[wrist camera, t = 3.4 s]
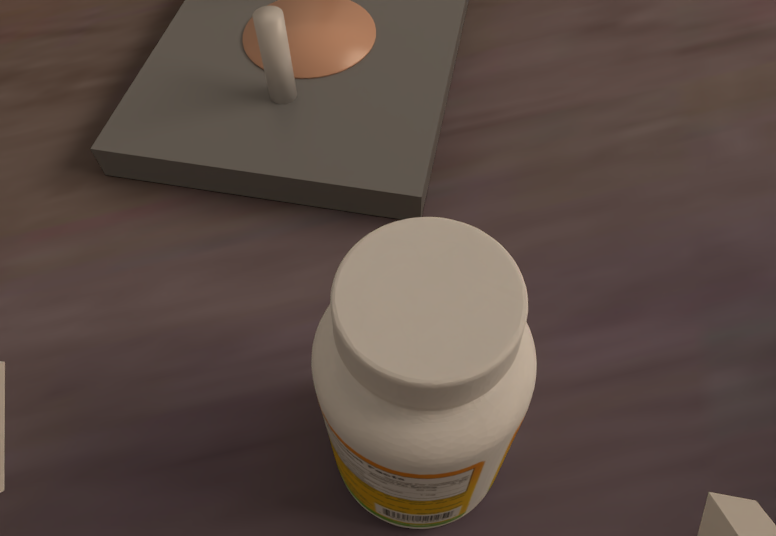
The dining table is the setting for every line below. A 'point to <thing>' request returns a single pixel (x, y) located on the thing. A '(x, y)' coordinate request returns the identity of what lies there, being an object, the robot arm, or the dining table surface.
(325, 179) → the pin tray
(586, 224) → the dining table surface
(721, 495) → the robot arm
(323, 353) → the supplement bottle
